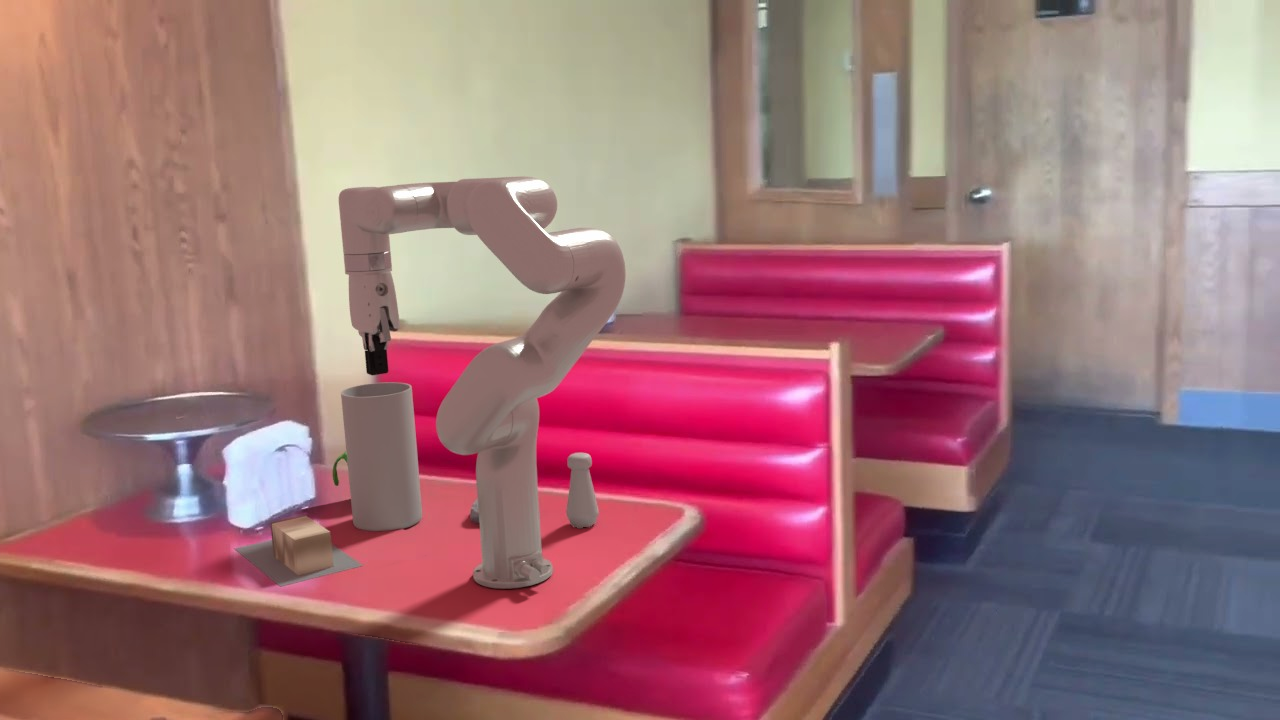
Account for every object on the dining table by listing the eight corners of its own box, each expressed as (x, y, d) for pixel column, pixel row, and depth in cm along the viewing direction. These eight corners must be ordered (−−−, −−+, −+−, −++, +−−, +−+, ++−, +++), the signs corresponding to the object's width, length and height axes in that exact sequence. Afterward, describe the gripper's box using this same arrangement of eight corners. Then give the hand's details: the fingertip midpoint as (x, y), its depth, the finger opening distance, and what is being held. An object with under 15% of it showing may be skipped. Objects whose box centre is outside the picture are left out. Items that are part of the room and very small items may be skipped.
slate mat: (363, 567, 204) (363, 565, 203) (280, 588, 196) (280, 586, 196) (312, 532, 223) (311, 530, 223) (234, 550, 215) (234, 548, 215)
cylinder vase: (340, 524, 227) (327, 391, 222) (397, 507, 236) (386, 379, 231) (378, 538, 218) (366, 400, 214) (436, 520, 227) (425, 387, 222)
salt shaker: (605, 522, 221) (602, 451, 219) (588, 531, 216) (584, 460, 214) (578, 518, 224) (574, 448, 222) (560, 527, 219) (556, 456, 217)
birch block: (308, 548, 213) (333, 566, 204) (273, 556, 210) (298, 575, 200) (304, 515, 212) (330, 531, 203) (270, 522, 209) (294, 540, 199)
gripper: (408, 264, 197) (417, 376, 201) (371, 258, 210) (380, 364, 213) (364, 269, 193) (374, 383, 197) (329, 262, 205) (339, 371, 209)
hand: (377, 373), depth 205 cm, fingers closed
